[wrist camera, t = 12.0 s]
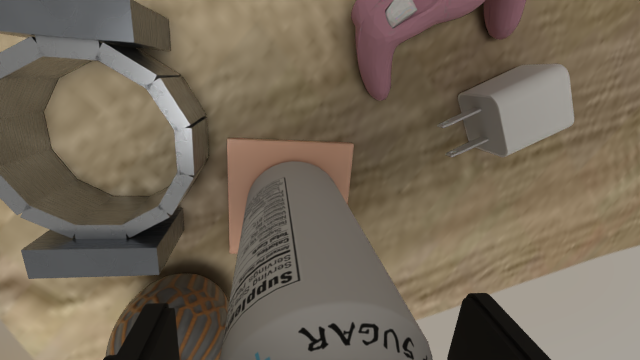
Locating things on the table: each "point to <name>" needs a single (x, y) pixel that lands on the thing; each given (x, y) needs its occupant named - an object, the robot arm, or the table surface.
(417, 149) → the table surface
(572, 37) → the table surface
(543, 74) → the usb wall charger
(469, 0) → the video game controller
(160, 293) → the vase
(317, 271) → the energy drink can
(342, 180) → the coaster
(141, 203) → the ring holder
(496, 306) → the robot arm
